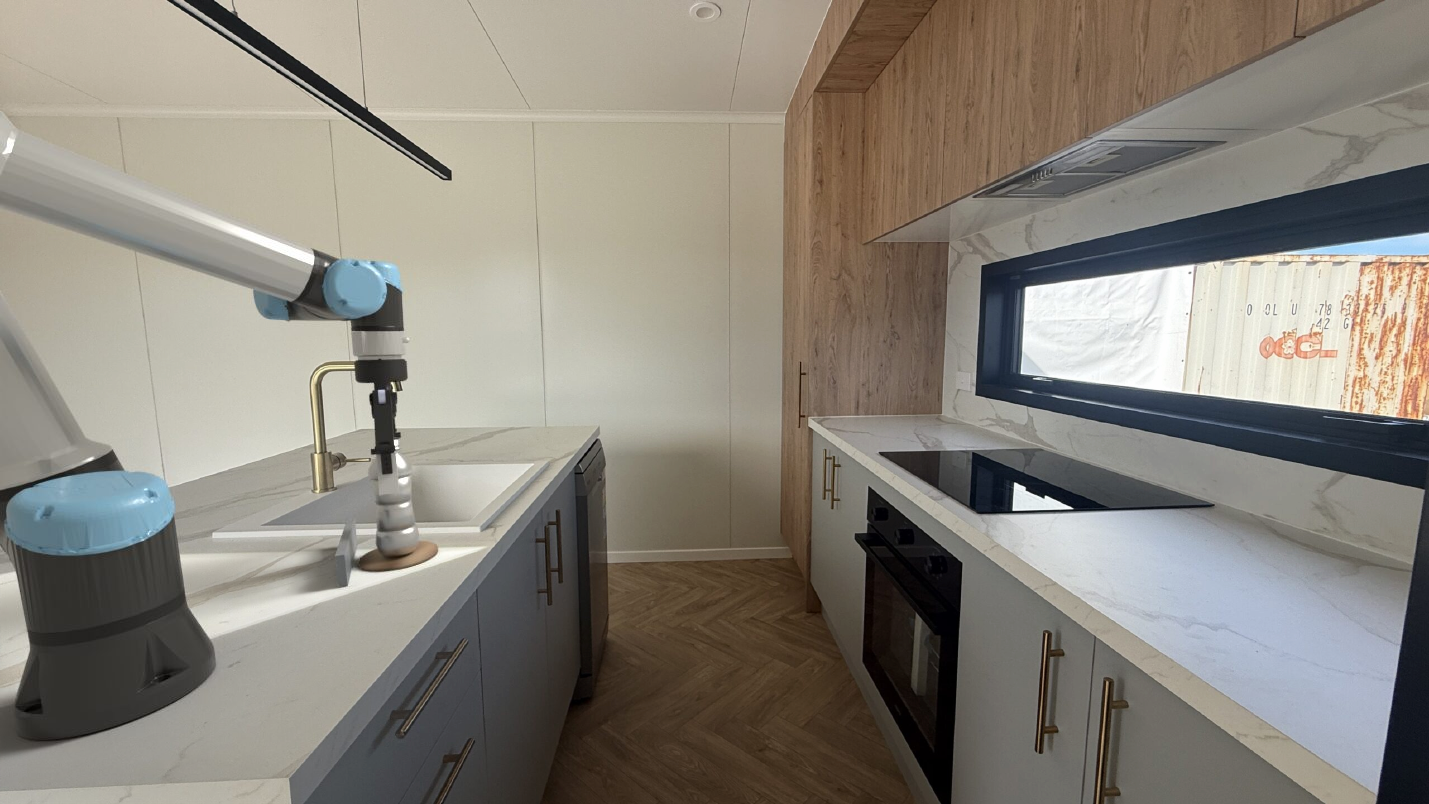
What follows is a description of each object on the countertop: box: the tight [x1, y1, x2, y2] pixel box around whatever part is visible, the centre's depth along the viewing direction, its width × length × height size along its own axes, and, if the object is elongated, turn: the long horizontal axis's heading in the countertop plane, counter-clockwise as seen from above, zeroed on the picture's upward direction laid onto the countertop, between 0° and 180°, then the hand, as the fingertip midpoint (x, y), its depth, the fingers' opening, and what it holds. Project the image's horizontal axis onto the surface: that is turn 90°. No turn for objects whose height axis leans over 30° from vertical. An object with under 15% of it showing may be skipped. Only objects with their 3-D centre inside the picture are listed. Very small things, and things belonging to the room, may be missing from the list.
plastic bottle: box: [367, 437, 420, 557], centre depth 98 cm, size 6×7×20 cm
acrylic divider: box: [334, 517, 358, 588], centre depth 96 cm, size 1×20×5 cm, turn 28°
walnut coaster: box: [358, 540, 439, 572], centre depth 99 cm, size 12×12×1 cm
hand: (390, 484), depth 97 cm, fingers open, 13 cm apart
